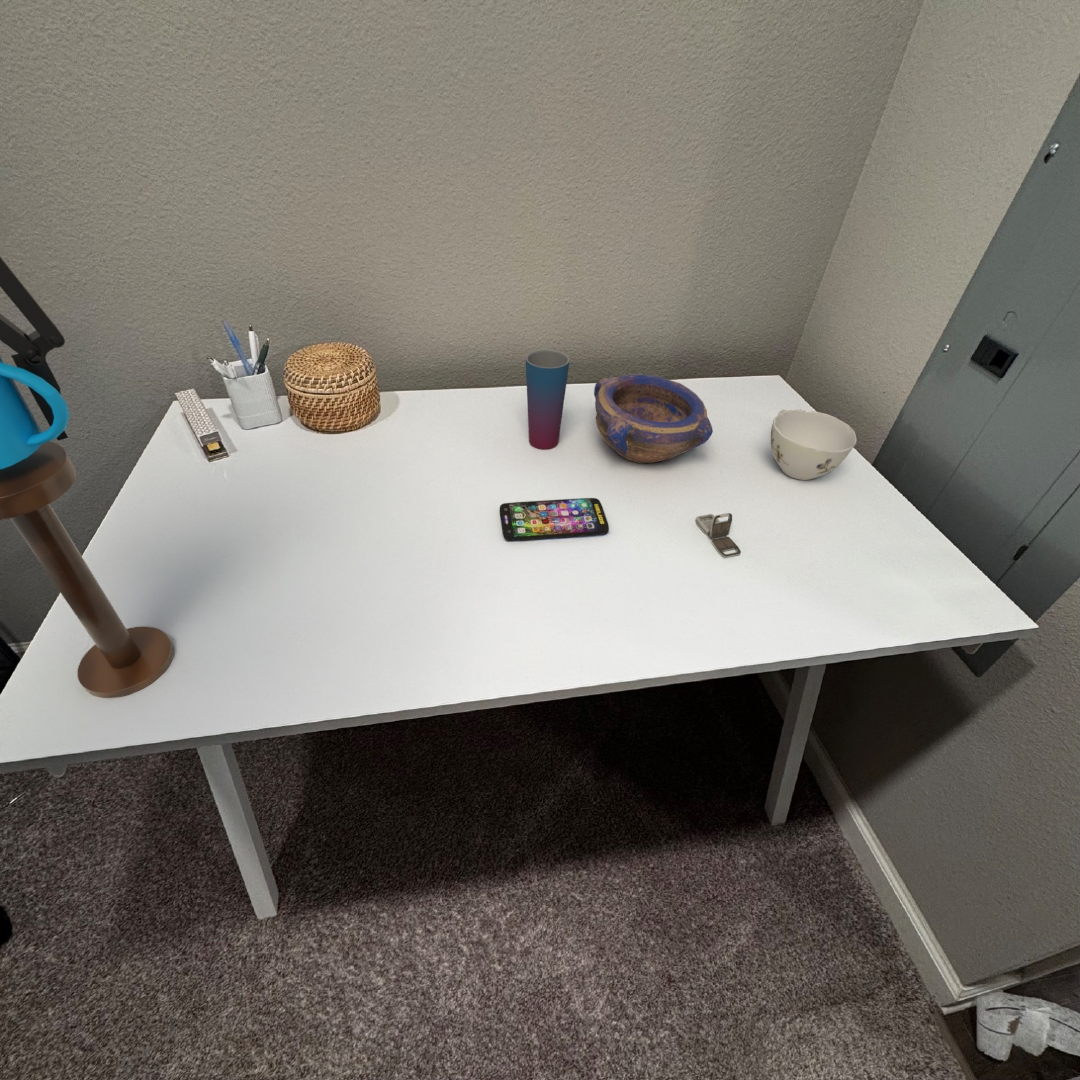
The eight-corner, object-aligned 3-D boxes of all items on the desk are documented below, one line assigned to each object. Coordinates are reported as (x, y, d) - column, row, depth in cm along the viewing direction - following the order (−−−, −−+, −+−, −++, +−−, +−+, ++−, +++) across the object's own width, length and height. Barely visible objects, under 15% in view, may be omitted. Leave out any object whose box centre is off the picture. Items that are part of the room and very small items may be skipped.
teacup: (855, 488, 99) (875, 445, 93) (786, 498, 96) (802, 454, 91) (802, 438, 109) (817, 397, 104) (738, 445, 107) (750, 404, 101)
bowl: (709, 479, 99) (724, 424, 92) (597, 479, 98) (604, 424, 91) (684, 421, 112) (695, 369, 106) (585, 420, 111) (590, 368, 105)
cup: (515, 439, 106) (516, 356, 96) (544, 426, 109) (548, 344, 99) (542, 457, 102) (546, 372, 92) (571, 443, 105) (578, 359, 96)
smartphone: (498, 502, 91) (599, 496, 93) (498, 507, 91) (598, 501, 93) (503, 537, 85) (611, 530, 87) (503, 543, 86) (610, 536, 87)
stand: (93, 713, 64) (-59, 517, 47) (72, 658, 69) (-72, 463, 52) (185, 668, 68) (77, 474, 51) (159, 619, 73) (53, 428, 56)
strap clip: (693, 520, 91) (699, 497, 88) (711, 517, 92) (717, 494, 89) (722, 559, 85) (729, 535, 82) (742, 555, 86) (749, 532, 83)
